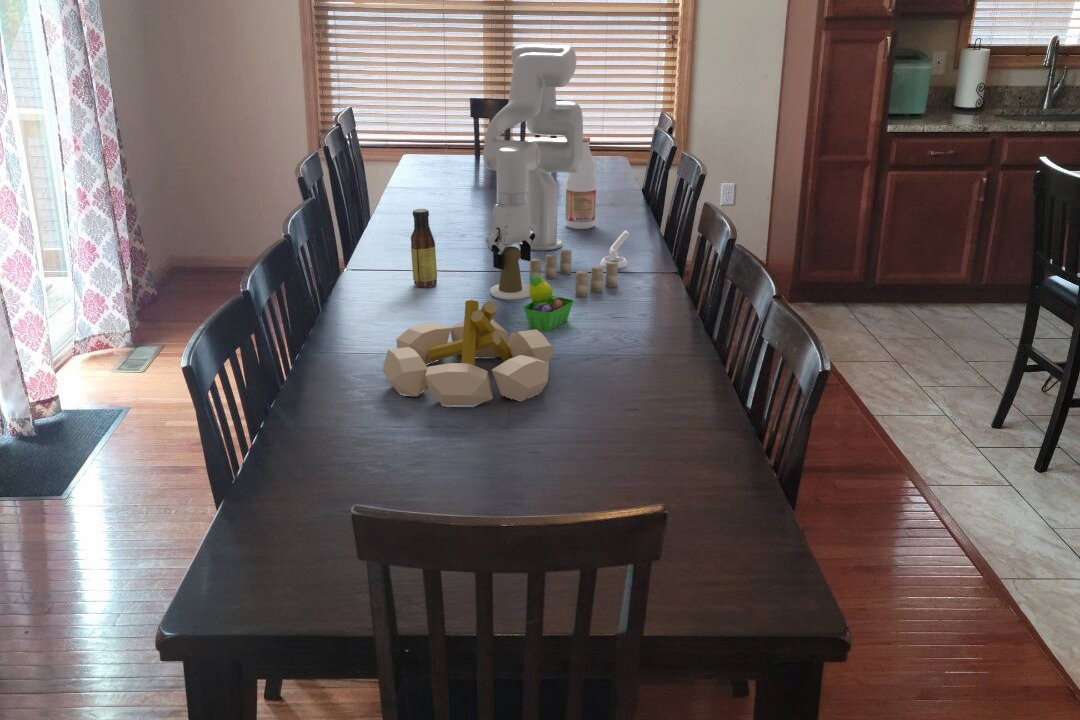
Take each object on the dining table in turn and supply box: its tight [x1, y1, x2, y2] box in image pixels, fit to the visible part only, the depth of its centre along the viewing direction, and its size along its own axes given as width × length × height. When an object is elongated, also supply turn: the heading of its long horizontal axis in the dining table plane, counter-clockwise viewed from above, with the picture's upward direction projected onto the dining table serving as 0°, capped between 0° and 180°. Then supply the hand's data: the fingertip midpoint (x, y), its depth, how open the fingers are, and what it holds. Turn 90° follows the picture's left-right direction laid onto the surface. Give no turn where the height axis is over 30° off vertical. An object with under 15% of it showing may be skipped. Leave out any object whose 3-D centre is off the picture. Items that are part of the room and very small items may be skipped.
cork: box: [498, 245, 523, 293], centre depth 265 cm, size 6×6×11 cm
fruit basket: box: [523, 276, 574, 332], centre depth 244 cm, size 11×9×11 cm
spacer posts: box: [529, 249, 619, 298], centre depth 275 cm, size 19×15×6 cm
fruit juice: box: [565, 135, 597, 230], centre depth 328 cm, size 9×9×28 cm
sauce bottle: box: [410, 208, 438, 288], centre depth 270 cm, size 7×6×20 cm
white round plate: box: [489, 283, 530, 301], centre depth 268 cm, size 11×11×1 cm
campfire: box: [382, 299, 555, 405], centre depth 212 cm, size 35×34×17 cm
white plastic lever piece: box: [600, 230, 630, 269], centre depth 292 cm, size 8×12×7 cm
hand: (512, 264), depth 266 cm, fingers open, 9 cm apart
